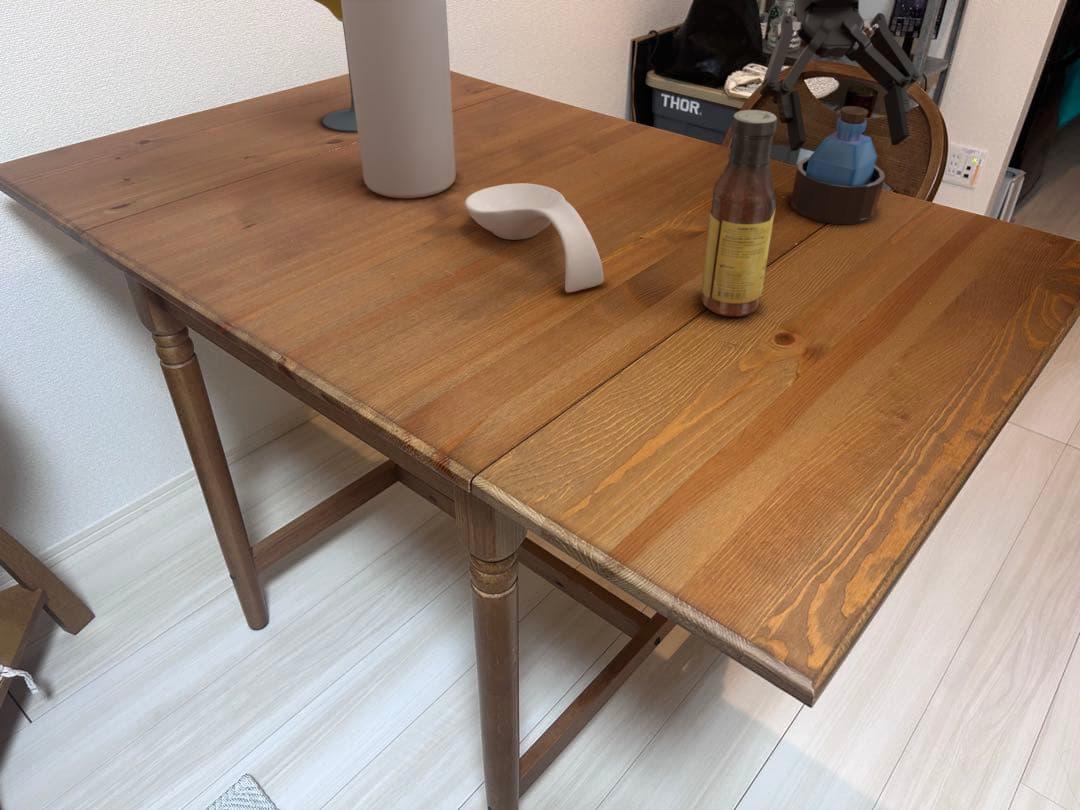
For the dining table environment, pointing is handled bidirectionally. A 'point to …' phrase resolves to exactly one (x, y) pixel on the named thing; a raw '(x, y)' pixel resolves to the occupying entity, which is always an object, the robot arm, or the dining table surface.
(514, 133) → the dining table surface
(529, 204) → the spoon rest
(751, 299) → the sauce bottle
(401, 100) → the cylinder vase
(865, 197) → the dark brown round bowl
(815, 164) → the perfume bottle
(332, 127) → the cocktail glass
